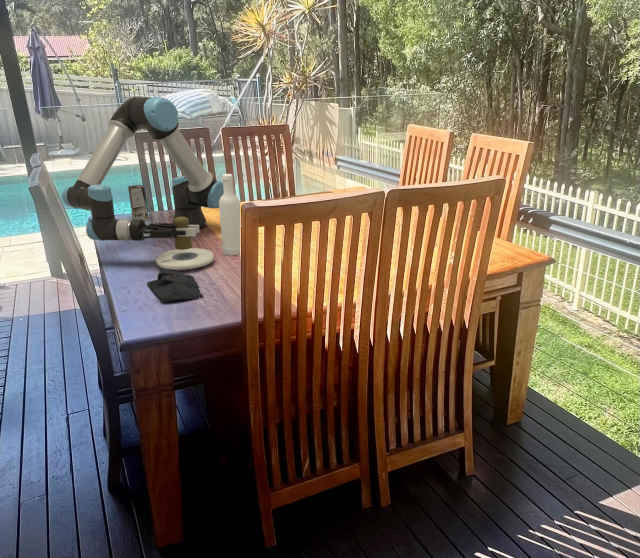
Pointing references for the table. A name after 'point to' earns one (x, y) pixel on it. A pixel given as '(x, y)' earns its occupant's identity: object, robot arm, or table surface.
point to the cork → (182, 241)
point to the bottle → (229, 218)
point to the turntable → (184, 258)
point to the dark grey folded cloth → (175, 286)
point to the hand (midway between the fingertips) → (197, 230)
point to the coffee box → (138, 202)
